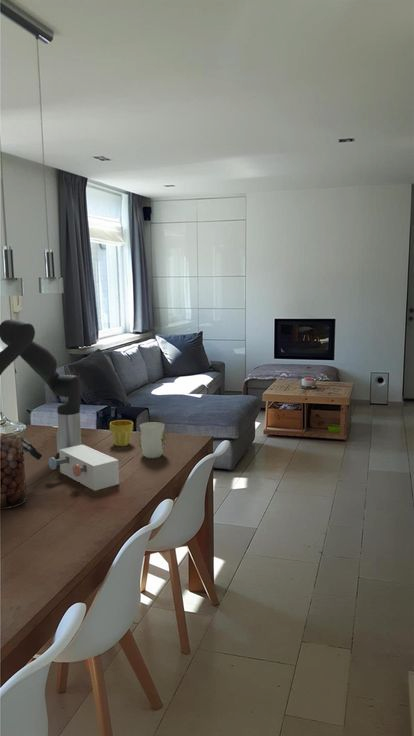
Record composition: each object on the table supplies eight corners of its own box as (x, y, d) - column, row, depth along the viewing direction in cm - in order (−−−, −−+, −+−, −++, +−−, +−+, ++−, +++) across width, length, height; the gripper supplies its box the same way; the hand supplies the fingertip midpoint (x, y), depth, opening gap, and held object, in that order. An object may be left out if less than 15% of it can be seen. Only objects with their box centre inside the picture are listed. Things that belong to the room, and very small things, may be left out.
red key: (78, 478, 202) (78, 466, 201) (72, 474, 205) (72, 463, 204) (100, 472, 207) (99, 461, 207) (94, 469, 211) (93, 458, 210)
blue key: (54, 470, 210) (53, 459, 209) (48, 467, 213) (48, 456, 212) (75, 465, 215) (75, 454, 214) (69, 462, 218) (69, 451, 218)
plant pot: (131, 447, 253) (131, 425, 251) (108, 447, 253) (107, 425, 251) (135, 440, 263) (134, 419, 261) (112, 440, 263) (111, 419, 262)
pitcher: (168, 448, 250) (167, 417, 248) (164, 461, 233) (163, 428, 231) (143, 448, 251) (142, 417, 249) (136, 461, 233) (136, 428, 231)
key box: (94, 490, 202) (93, 466, 200) (60, 472, 221) (59, 449, 220) (119, 484, 208) (118, 460, 207) (83, 466, 227) (82, 444, 226)
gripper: (18, 425, 194) (54, 453, 204) (3, 418, 204) (38, 444, 214) (4, 443, 192) (41, 470, 202) (-11, 435, 202) (25, 461, 211)
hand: (39, 457), depth 208 cm, fingers closed
